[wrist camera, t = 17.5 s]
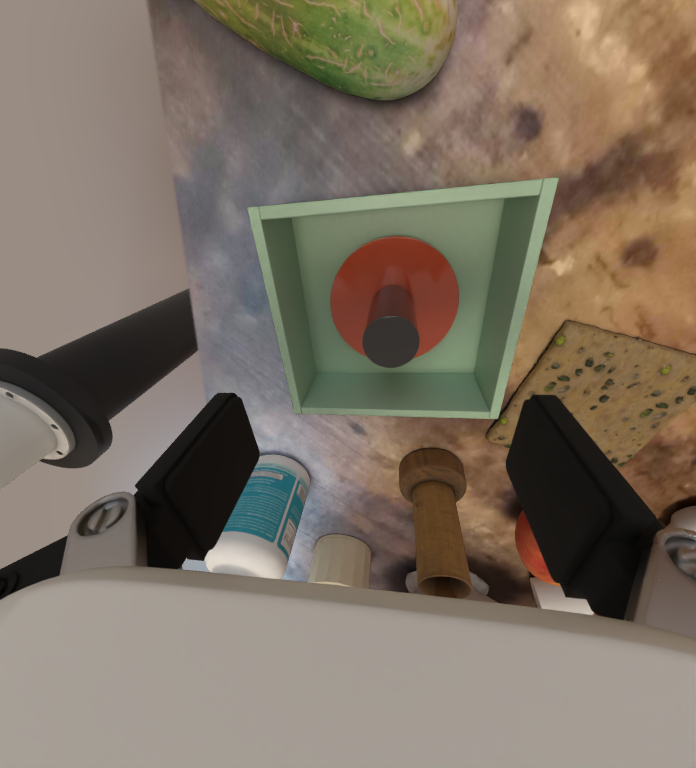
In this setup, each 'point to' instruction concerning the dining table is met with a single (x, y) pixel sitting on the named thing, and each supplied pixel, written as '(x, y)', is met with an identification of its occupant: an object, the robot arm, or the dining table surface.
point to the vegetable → (349, 39)
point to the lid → (394, 299)
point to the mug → (557, 598)
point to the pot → (340, 562)
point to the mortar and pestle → (437, 521)
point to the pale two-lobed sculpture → (684, 519)
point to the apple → (531, 551)
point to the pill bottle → (263, 521)
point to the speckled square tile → (608, 388)
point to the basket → (474, 277)
